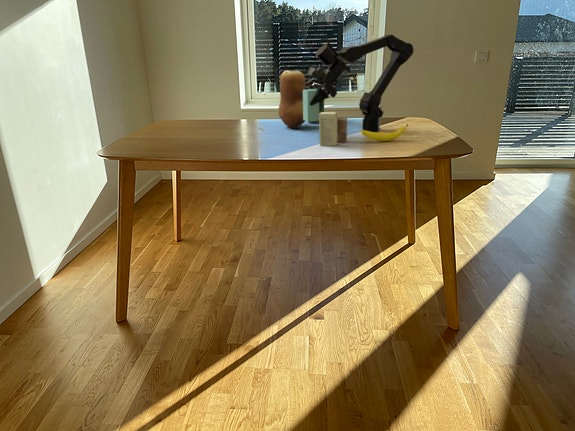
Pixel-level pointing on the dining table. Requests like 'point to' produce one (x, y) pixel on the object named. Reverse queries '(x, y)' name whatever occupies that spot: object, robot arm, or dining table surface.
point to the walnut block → (341, 130)
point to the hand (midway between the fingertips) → (307, 104)
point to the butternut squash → (291, 98)
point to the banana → (384, 135)
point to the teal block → (310, 111)
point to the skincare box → (328, 128)
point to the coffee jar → (321, 108)
